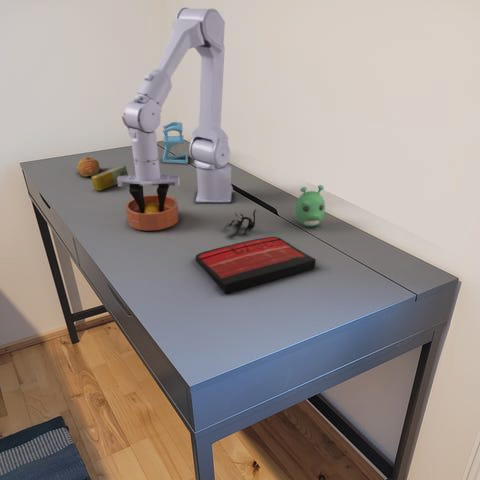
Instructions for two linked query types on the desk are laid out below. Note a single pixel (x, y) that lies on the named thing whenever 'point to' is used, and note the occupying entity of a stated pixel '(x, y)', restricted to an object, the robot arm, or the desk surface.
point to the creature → (250, 225)
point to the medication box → (108, 178)
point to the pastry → (88, 167)
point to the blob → (151, 208)
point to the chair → (173, 143)
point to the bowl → (152, 214)
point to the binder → (253, 263)
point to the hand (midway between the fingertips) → (152, 213)
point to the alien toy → (310, 207)
